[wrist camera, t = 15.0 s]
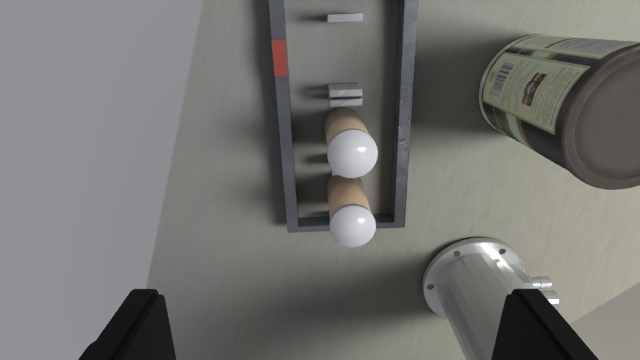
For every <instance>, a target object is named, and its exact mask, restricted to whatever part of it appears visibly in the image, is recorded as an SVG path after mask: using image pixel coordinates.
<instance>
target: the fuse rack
mask: <svg viewBox="0 0 640 360" xmlns="http://www.w3.org/2000/svg"><path fill="white" fill-rule="evenodd" d="M268 1H269V13H270V25H271V37H272V40H271V41H272V53H273V65H274V77H275V86H276V98H277V110H278V122H279V134H280V146H281V158H282V170H283V182H284V194H285V206H286V218H287V230H288V233H292V232H313V231H330V226H329V224H330V217H310V218H298V204H297V189H296V175H295V160H294V146H293V131H292V116H291V102H290V87H289V73H288V58H287V44H286V29H285V14H284V0H268ZM417 15H418V0H400V10H399V33H398V57H397V80H396V103H395V127H394V150H393V174H392V197H391V214H375V215H373V216H374V219H375V222H376V229H378V228H399V227H405V214H406V198H407V181H408V164H409V148H410V131H411V115H412V98H413V82H414V65H415V49H416V32H417ZM349 21H363V13H359V14H334V15H326V22H349ZM328 91H329V93H328V97H329V103H330V107H336V106H359V105H362V98H361V96H362V88H361V87H360V85H359V84H358V83H349V84H328ZM331 171H332V176H334V175H339V174H337V173H336V172H335V171H334V170H333V169H332V168H331Z"/></svg>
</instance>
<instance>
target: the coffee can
mask: <svg viewBox="0 0 640 360" xmlns="http://www.w3.org/2000/svg"><path fill="white" fill-rule="evenodd" d="M478 98H479V105H480V109H481V112H482V114H483V116H484V118H485V119H486V121H487V122H488V123H489V124H490V125H491V126H492V127H493V128H494V129H496V130H497V131H499V132H501V133H504V134H506V135H508V136H509V137H511V138H513V139H515V140H516V141H518V142H520V143H522V144H524V145H525V146H527V147H529V148H530V149H532V150H534V151H536V152H537V153H539V154H541V155H542V156H544V157H546V158H547V159H549V160H551V161H552V162H554V163H556V164H557V165H559V166H561V167H563V168H565V169H566V170H568V171H570V172H571V173H572V174H573V175H574V176H575V177H577V178H578V179H580V180H581V181H583V182H584V183H586V184H588V185H591V186H593V187H597V188H601V189H609V190H615V189H625V188H631V187H635V186H639V185H640V42H632V41H616V40H602V39H588V38H572V37H557V36H550V35H543V34H538V35H528V36H525V37H523V38H520V39H517V40H515V41H513V42H511V43H510V44H508V45H507V46H505V47H504V48H503V49H502V50H500V51H499V52H498V53H497V54H496V55H495V57H494V58H493V59H492V60H491V62H490V63H489V65H488V66H487V68H486V70H485V72H484V74H483V76H482V79H481V82H480V87H479V97H478Z"/></svg>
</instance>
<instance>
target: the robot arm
mask: <svg viewBox="0 0 640 360" xmlns="http://www.w3.org/2000/svg"><path fill="white" fill-rule="evenodd" d="M551 287H552V282H551V279H550V278H549V277H536V278H530V276H527V275H526V274H525V270H524V266H523V263H522V261H521V259H520V257H519V256H518V255H517V254H516V253H515V251H514V250H513V249H511V248H510V247H509V246H508V245H506V244H505V243H503V242H501V241H498V240H495V239H490V238H471V239H466V240H462V241H459V242H457V243H454V244H452V245H450V246H448V247H447V248H445V249H444V250H442V251H441V252H440V253H438V254H437V255H436V256H435V257H434V258H433V260H432V261H431V262H430V263H429V265H428V267H427V268H426V270H425V273H424V276H423V281H422V290H423V294H424V297H425V300H426V302H427V304H428V306H429V307H430V308H431V309H432V311H433V312H434V313H436V314H437V315H438V316H440V317H442V318H444V319H446V320H449V323H450V325H451V327H452V329H453V331H454V334H455V336H456V338H457V340H458V342H459V344H460V347H461V349H462V351H463V353H464V355H465V357H466V360H598V358H597V357H596V356H595V355H594V354H593V352H592V351H591V350H590V349H589V348H588V347H587V346H586V344H585V343H584V342H583V341H582V340H581V338H580V337H579V336H578V335H577V334H576V332H575V331H574V330H573V329H572V328H571V327H570V325H569V324H568V323H567V322H566V321H565V319H564V318H563V317H562V316H561V315H560V314H559V312H558V311H557V310H556V309H555V308H554V307H556V306H558V304H559V298H558V295H557V294H556V292H555V291H539V290H538V289H533V288H539V289H544V288H551ZM79 360H176V356H175V351H174V345H173V340H172V335H171V329H170V324H169V318H168V313H167V308H166V302H165V298H164V296H163V295H159V294H158V291H157V290H156V289H134V290H132V291H131V292H130V293H129V295H128V296H127V298H126V299H125V300H124V302H123V303H122V305H121V306H120V307H119V309H118V310H117V312H116V313H115V315H114V316H113V317H112V319H111V320H110V322H109V323H108V324H107V326H106V327H105V329H104V330H103V331H102V333H101V334H100V336H99V337H98V339H97V340H96V341H95V342H93V343H91V344H90V345H89V346H88V347H87V349H86V350H85V351H84V353H83V354H82V355H81V357H80V358H79Z"/></svg>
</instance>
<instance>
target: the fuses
mask: <svg viewBox="0 0 640 360" xmlns="http://www.w3.org/2000/svg"><path fill="white" fill-rule="evenodd" d="M325 134H326V141H327V148H328V150H327V157H328V162H329V164H330V166H331V168H332V169H333V170H334V171H335V172H336V173H337V174H339V175H334V176H331V177H330V178H329V180H328V182H327V196H328V206H329V215H330V224H329V226H330V233H331V236H332V237H333V239H334V240H335V241H336V242H337V243H339V244H340V245H343V246H346V247H358V246H361V245H363V244H365V243H367V242H368V241H369V240H370V239H371V238H372V237H373V235H374V233H375V230H376V222H375V219H374V216H373V214H372V213H371V210H370V207H369V204H368V201H367V198H366V194H365V191H364V188H363V185H362V182H361V179H360V178H359V177H360V176H363V175H365V174H366V173H368V172H369V171H370V170H371V169H372V168H373V167H374V165H375V163H376V161H377V157H378V150H377V146H376V144H375V142H374V140H373V138H372V137H371V136H370V135H369V133H368V131H367V129H366V127H365V125H364V123H363V121H362V119H361V117H360V116H359V114H358V113H357V112H356V111H354V110H353V109H351V108H346V107H342V108H338V109H335V110H334V111H332V112H331V113H330V114H329V115H328V117H327V118H326V121H325Z"/></svg>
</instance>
